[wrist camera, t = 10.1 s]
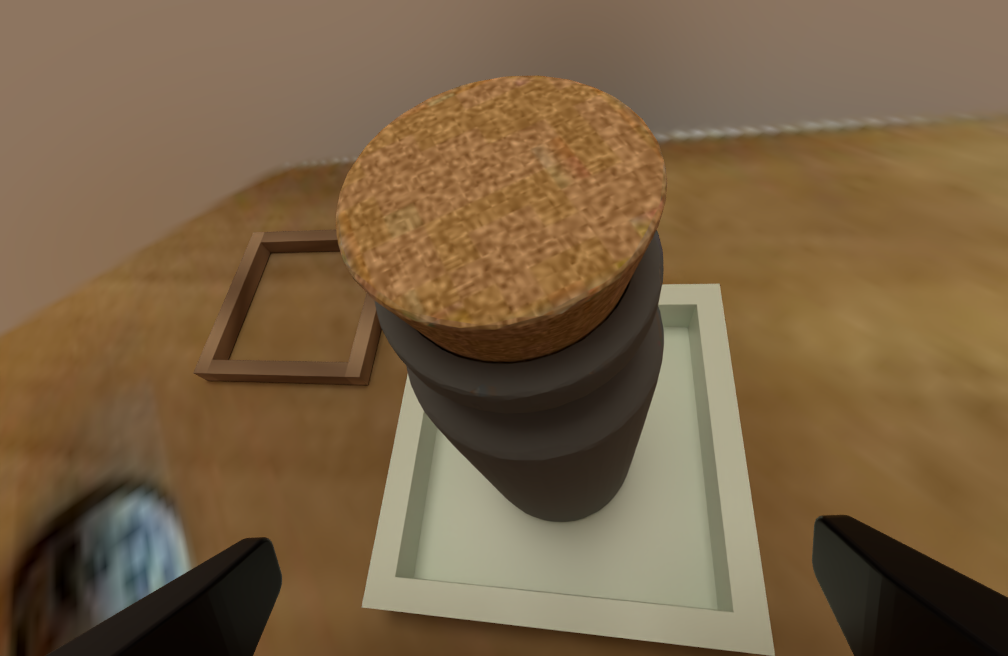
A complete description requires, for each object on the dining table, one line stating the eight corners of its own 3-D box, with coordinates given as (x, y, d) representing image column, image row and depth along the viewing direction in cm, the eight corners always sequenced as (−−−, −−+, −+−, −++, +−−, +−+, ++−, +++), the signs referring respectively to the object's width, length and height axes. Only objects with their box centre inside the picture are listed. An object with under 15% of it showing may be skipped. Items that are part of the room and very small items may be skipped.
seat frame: (367, 384, 23) (359, 377, 22) (207, 380, 25) (193, 373, 24) (402, 238, 27) (396, 227, 26) (263, 243, 29) (253, 232, 28)
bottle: (483, 393, 21) (314, 92, 8) (613, 373, 21) (651, 17, 8) (495, 532, 18) (263, 408, 5) (646, 513, 18) (793, 325, 5)
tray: (749, 646, 16) (775, 655, 14) (388, 604, 18) (361, 607, 16) (706, 313, 22) (719, 284, 20) (439, 313, 24) (424, 287, 22)
